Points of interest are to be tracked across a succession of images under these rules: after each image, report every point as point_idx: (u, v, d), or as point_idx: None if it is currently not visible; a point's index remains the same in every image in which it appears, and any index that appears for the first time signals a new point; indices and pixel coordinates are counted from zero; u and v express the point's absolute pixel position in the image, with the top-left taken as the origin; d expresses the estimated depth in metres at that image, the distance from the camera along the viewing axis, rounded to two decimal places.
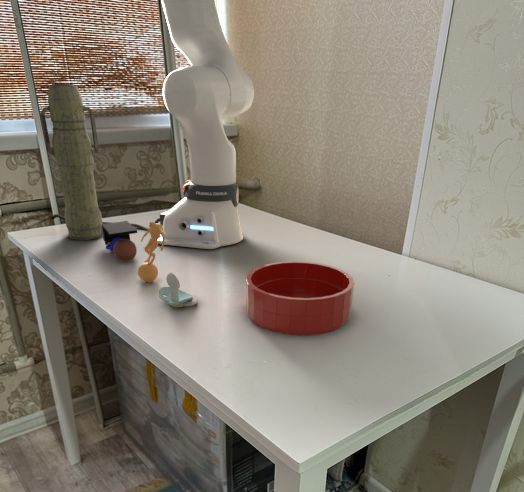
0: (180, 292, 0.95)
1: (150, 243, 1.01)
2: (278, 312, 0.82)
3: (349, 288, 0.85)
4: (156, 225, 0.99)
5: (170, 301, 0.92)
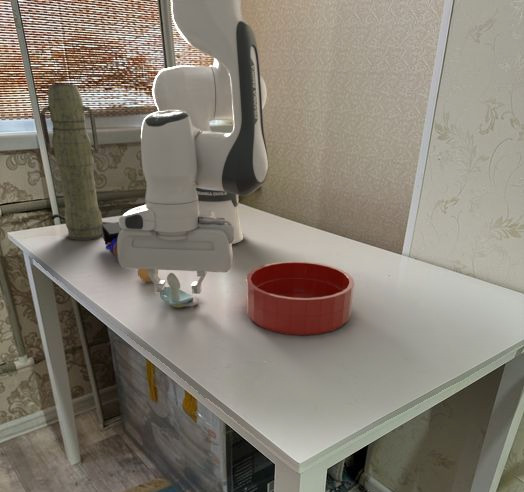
0: (181, 292, 0.95)
1: None
2: (278, 312, 0.82)
3: (349, 288, 0.85)
4: None
5: (170, 301, 0.92)
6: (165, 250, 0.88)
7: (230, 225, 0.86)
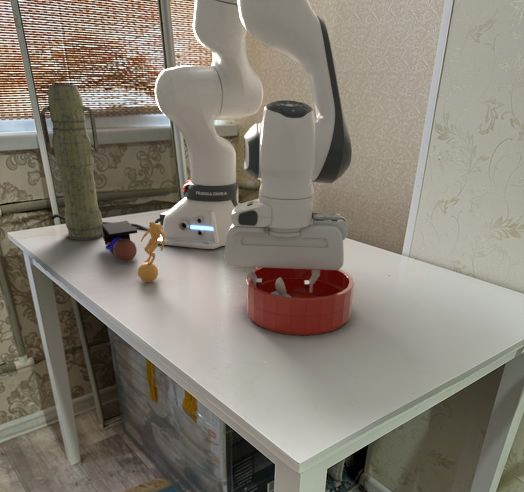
0: None
1: (150, 243, 1.01)
2: (278, 312, 0.82)
3: (349, 288, 0.85)
4: (156, 225, 0.99)
5: None
6: (275, 247, 0.84)
7: (345, 221, 0.83)
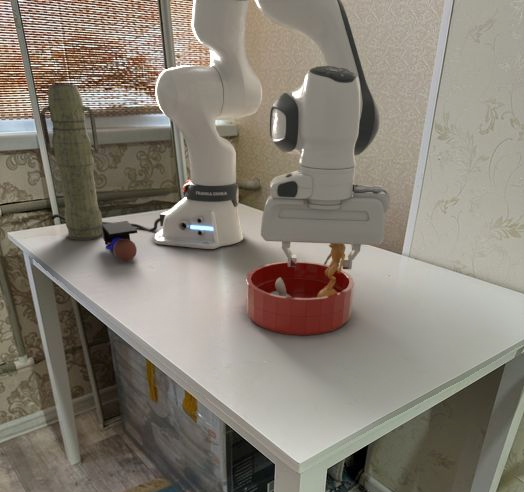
0: None
1: (331, 265, 0.88)
2: (278, 312, 0.82)
3: (349, 288, 0.85)
4: (337, 244, 0.86)
5: None
6: (314, 221, 0.81)
7: (387, 194, 0.80)
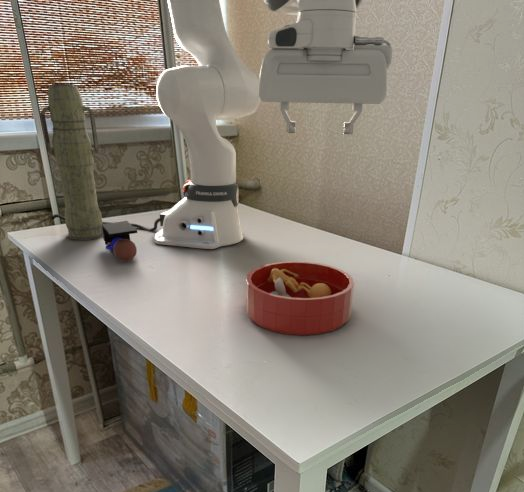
0: None
1: None
2: (278, 312, 0.82)
3: (349, 288, 0.85)
4: (270, 277, 0.93)
5: None
6: (314, 76, 0.79)
7: (389, 45, 0.77)
